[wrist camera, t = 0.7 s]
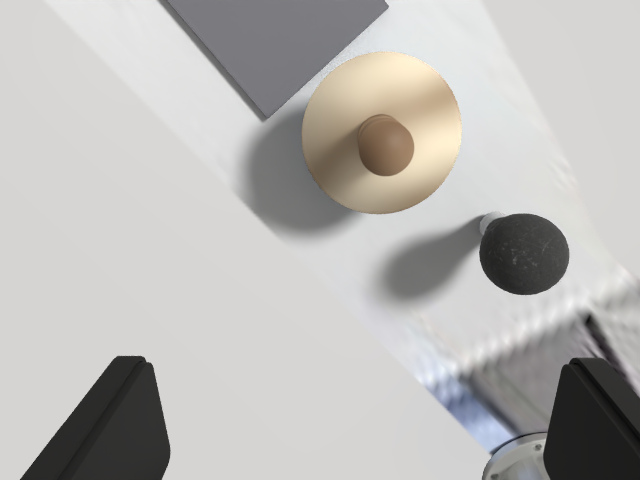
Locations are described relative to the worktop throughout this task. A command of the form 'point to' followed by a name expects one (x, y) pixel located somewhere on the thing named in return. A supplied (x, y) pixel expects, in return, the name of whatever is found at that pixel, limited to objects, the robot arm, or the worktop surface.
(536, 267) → the light bulb
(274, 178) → the worktop surface
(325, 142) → the lid
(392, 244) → the worktop surface
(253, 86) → the mat
